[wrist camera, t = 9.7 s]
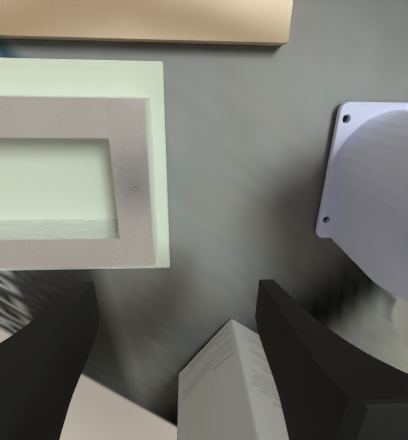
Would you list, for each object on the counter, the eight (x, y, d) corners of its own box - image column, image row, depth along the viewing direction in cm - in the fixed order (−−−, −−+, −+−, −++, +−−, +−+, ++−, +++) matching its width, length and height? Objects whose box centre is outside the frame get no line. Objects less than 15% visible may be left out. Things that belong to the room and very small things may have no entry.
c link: (158, 243, 22) (154, 265, 19) (-12, 245, 21) (-41, 268, 19) (150, 97, 18) (144, 98, 15) (-59, 93, 17) (-105, 94, 14)
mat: (170, 264, 23) (169, 267, 23) (-17, 267, 22) (-21, 270, 22) (162, 62, 18) (162, 61, 17) (-88, 56, 17) (-94, 55, 16)
